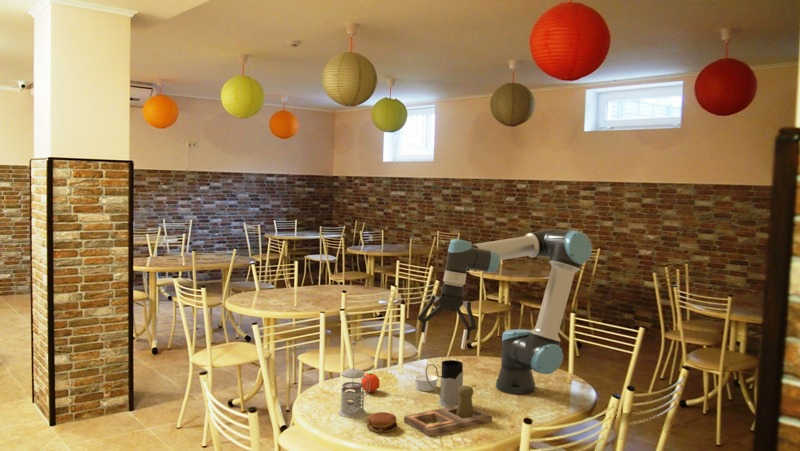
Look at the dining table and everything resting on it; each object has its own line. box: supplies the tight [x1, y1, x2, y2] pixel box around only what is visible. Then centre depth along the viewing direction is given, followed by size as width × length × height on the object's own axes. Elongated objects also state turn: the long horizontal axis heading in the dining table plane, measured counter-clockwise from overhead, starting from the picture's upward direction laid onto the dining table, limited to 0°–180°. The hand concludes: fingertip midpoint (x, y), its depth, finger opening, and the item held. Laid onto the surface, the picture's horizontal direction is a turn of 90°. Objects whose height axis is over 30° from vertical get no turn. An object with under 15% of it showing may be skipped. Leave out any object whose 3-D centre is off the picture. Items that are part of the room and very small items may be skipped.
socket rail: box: [403, 405, 493, 437], centre depth 215 cm, size 26×14×2 cm, turn 123°
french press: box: [337, 340, 370, 419], centre depth 221 cm, size 10×12×25 cm
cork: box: [456, 385, 474, 419], centre depth 219 cm, size 6×6×11 cm
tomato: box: [360, 372, 381, 393], centre depth 245 cm, size 8×7×7 cm
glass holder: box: [425, 359, 464, 408], centre depth 234 cm, size 9×14×15 cm, turn 73°
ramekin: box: [414, 373, 438, 392], centre depth 250 cm, size 9×9×4 cm
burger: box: [366, 411, 398, 433], centre depth 208 cm, size 10×9×5 cm
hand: (443, 345), depth 221 cm, fingers open, 13 cm apart
